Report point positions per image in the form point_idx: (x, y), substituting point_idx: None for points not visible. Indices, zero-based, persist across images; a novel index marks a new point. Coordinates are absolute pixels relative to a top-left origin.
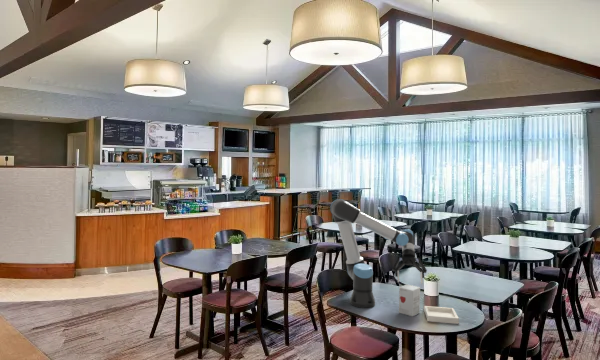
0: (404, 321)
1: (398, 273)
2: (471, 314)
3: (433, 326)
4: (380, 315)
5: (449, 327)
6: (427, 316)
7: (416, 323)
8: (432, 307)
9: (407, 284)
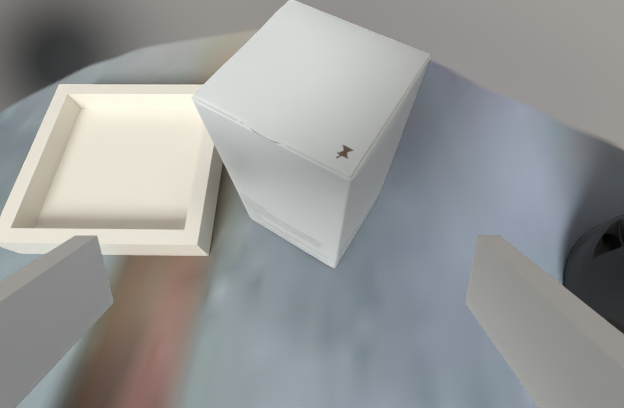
0: None
1: (590, 328)
2: None
3: (219, 59)
4: (480, 129)
5: (147, 63)
6: None
7: None
8: (144, 230)
9: (336, 165)
